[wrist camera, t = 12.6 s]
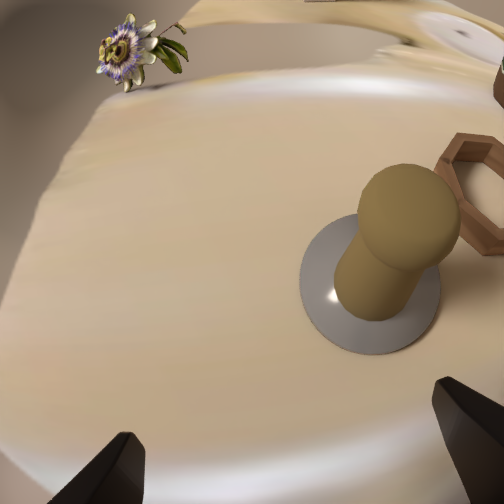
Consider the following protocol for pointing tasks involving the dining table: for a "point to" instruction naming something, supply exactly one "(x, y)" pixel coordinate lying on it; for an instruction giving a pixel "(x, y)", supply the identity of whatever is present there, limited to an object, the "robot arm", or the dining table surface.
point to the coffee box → (316, 0)
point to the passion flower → (137, 52)
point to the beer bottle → (499, 85)
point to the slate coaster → (343, 322)
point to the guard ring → (472, 221)
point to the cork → (396, 240)
